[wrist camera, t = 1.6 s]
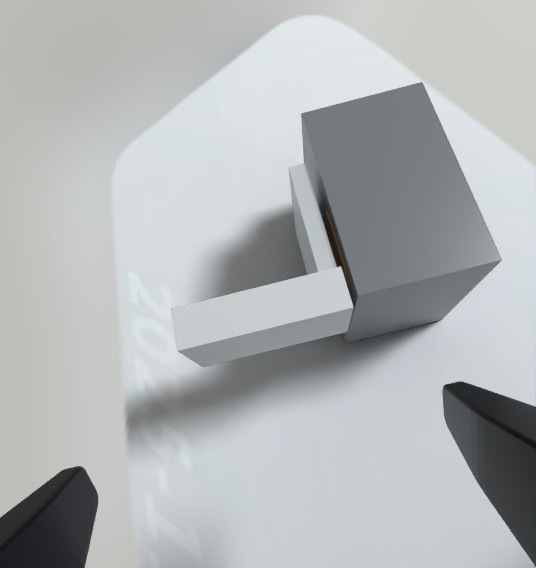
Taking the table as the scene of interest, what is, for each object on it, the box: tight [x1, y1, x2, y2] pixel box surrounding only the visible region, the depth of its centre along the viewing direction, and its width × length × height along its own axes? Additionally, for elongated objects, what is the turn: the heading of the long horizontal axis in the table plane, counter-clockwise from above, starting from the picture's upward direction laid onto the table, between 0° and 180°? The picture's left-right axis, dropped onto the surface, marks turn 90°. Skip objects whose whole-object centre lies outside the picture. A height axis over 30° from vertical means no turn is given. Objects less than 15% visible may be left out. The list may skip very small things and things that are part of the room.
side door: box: [171, 163, 354, 367], centre depth 19 cm, size 6×6×7 cm
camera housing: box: [301, 82, 502, 343], centre depth 20 cm, size 9×5×8 cm, turn 13°
